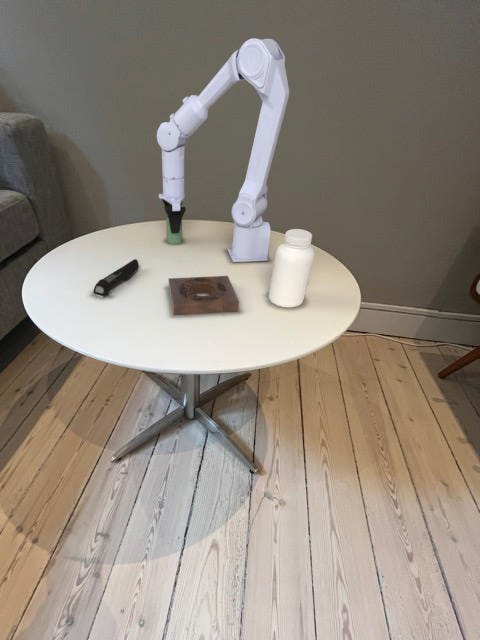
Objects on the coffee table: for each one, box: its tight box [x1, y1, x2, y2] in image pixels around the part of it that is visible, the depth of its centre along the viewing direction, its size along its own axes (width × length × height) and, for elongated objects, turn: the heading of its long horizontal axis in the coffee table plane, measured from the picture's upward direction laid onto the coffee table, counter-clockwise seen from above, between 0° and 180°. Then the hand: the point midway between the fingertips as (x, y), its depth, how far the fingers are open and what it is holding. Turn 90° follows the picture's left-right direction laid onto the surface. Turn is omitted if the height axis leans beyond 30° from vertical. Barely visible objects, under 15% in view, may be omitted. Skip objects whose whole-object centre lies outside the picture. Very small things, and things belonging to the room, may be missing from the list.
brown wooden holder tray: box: [168, 275, 240, 316], centre depth 86 cm, size 14×12×2 cm
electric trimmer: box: [93, 258, 140, 298], centre depth 92 cm, size 4×16×3 cm, turn 153°
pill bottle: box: [268, 228, 315, 308], centre depth 83 cm, size 8×8×15 cm
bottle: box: [165, 204, 183, 245], centre depth 109 cm, size 4×4×10 cm
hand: (174, 229), depth 110 cm, fingers open, 5 cm apart
